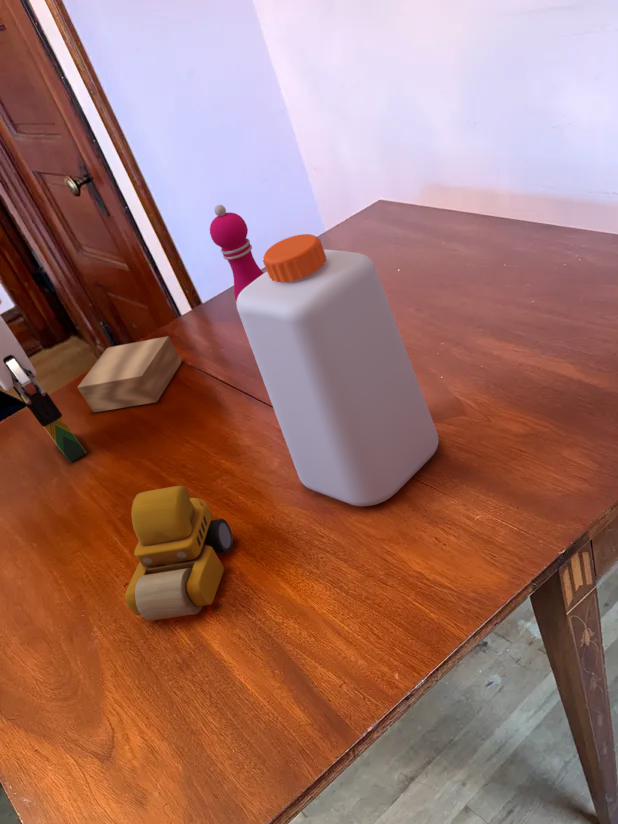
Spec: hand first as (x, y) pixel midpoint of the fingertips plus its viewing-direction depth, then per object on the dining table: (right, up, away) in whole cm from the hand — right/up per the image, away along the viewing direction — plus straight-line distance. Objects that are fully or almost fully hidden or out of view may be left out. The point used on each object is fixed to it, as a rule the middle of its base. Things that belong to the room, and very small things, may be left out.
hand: (45, 411), depth 110 cm
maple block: (+9, +7, +15) cm, 18 cm away
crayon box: (+2, -5, +5) cm, 8 cm away
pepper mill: (+29, +20, +21) cm, 41 cm away
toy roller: (+29, -23, -24) cm, 44 cm away
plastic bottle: (+49, -10, -18) cm, 53 cm away
